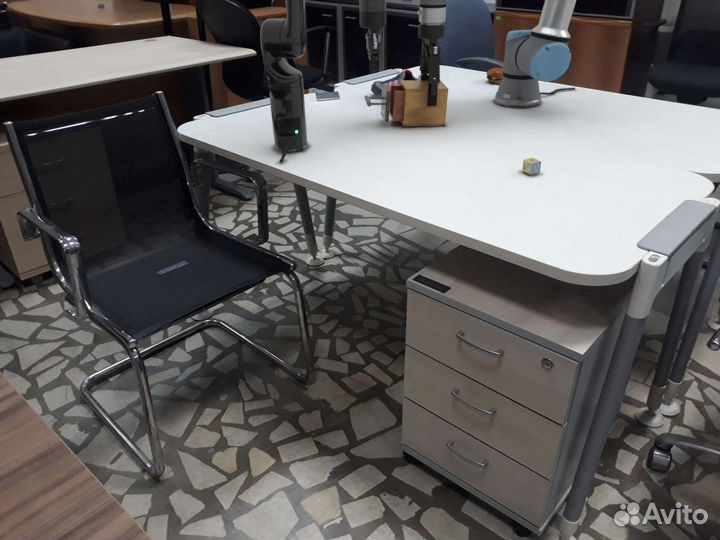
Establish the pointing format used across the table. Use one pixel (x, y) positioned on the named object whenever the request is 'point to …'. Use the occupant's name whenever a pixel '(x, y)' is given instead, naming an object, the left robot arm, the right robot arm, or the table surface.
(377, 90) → the running shoe
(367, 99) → the drawer
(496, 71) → the burger
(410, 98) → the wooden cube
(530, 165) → the alphabet block
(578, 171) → the table surface
